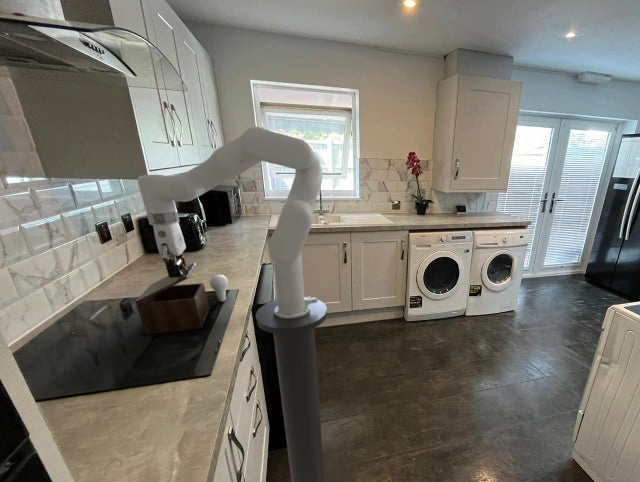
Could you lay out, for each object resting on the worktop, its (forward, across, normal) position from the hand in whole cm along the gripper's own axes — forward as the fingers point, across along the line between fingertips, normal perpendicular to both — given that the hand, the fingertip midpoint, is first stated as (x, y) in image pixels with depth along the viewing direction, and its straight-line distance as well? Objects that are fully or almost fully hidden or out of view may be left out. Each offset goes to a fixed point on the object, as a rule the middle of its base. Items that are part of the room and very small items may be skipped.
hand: (178, 272), depth 104 cm
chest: (+18, 0, +3) cm, 18 cm away
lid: (+3, 0, +3) cm, 5 cm away
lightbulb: (+18, +14, -8) cm, 24 cm away
